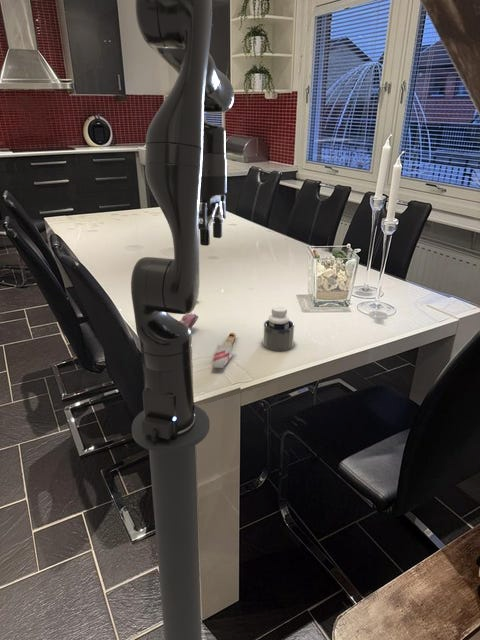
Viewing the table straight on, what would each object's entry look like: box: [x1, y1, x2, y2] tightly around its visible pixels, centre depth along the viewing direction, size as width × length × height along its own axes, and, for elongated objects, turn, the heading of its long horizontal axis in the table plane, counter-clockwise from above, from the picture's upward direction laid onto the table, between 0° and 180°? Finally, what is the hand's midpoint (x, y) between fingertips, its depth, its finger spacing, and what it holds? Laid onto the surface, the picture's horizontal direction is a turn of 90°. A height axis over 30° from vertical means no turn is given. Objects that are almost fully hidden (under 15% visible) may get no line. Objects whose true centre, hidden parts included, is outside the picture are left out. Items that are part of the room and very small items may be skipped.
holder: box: [262, 319, 295, 352], centre depth 125 cm, size 8×8×6 cm
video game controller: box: [179, 311, 199, 331], centre depth 131 cm, size 10×5×7 cm, turn 159°
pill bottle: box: [268, 305, 290, 330], centre depth 124 cm, size 5×5×10 cm
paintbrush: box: [211, 332, 236, 369], centre depth 120 cm, size 4×3×20 cm
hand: (211, 241), depth 116 cm, fingers open, 8 cm apart
